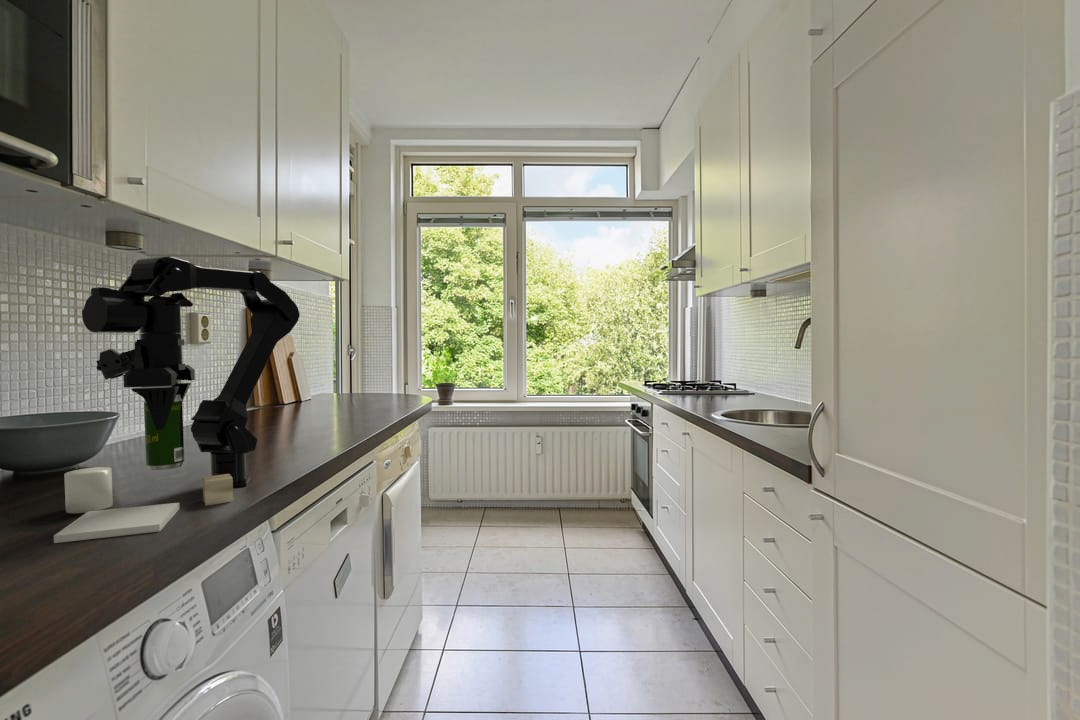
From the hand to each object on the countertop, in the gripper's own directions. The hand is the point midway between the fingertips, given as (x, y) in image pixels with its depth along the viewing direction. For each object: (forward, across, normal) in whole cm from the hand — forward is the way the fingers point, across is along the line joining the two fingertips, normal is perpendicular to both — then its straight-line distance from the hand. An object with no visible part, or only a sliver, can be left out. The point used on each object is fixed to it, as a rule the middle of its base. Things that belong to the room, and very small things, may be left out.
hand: (164, 427), depth 96 cm
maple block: (+13, +3, +8) cm, 15 cm away
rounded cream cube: (+12, -1, -11) cm, 17 cm away
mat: (+12, +12, -3) cm, 18 cm away
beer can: (+7, 0, 0) cm, 7 cm away
